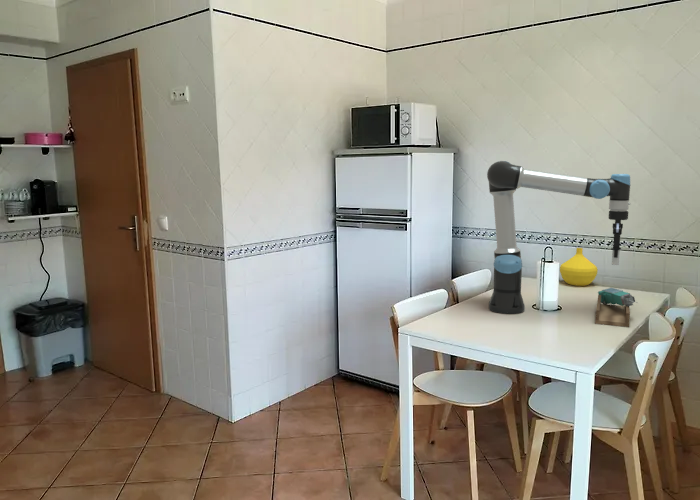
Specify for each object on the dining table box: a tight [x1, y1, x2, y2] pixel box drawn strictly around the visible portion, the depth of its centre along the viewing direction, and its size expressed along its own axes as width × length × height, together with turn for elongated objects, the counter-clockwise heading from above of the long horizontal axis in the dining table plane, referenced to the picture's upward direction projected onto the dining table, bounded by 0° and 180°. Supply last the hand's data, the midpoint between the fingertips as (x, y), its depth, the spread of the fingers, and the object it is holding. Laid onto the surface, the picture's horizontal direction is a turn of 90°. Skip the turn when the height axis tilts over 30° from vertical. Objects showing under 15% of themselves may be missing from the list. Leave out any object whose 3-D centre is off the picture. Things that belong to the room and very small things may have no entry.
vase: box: [559, 247, 599, 287], centre depth 287 cm, size 18×18×19 cm
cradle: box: [594, 294, 631, 328], centre depth 228 cm, size 12×28×6 cm, turn 154°
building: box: [597, 287, 638, 307], centre depth 229 cm, size 6×6×30 cm
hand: (615, 264), depth 238 cm, fingers closed
